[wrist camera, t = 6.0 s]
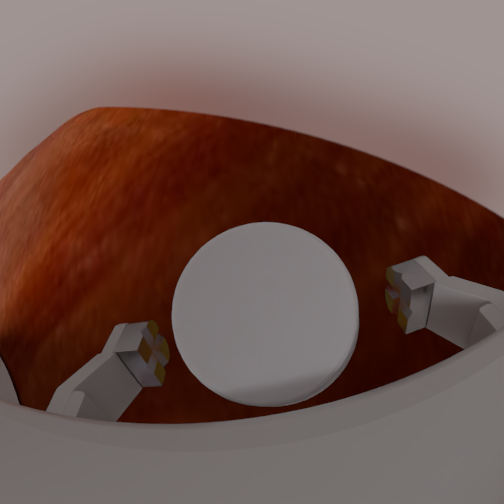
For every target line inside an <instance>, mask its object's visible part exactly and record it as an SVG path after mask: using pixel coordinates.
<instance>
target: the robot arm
mask: <svg viewBox="0 0 504 504" xmlns="http://www.w3.org/2000/svg"><path fill="white" fill-rule="evenodd" d="M386 279H387V280H388V281H389V283H388V285H387V287H386V288H385V298H386V303H387V306H388V308H389V310H390V312H391V313H392V314H394V315H396V316H398V321H397V322H398V324H399V325H400V327H401V328H402V330H403V331H404V333H405V334H408V333H411V332H413V331H416V330H419V329H422V328H424V327H426V328H427V329H429V330H431V331H433V332H434V333H436V334H438V335H440V336H442V337H443V338H445V339H447V340H449V341H450V342H452V343H454V344H456V345H458V346H459V347H461V348H463V349H465V350H463V351H461V352H459V353H457V354H455V355H453V356H451V357H449V358H447V359H445V360H443V361H441V362H439V363H437V364H435V365H433V366H431V367H429V368H426V369H424V370H422V371H420V372H417V373H415V374H412V375H410V376H408V377H405V378H403V379H400V380H398V381H395V382H392V383H390V384H387V385H384V386H382V387H379V388H376V389H373V390H370V391H367V392H364V393H361V394H358V395H354V396H351V397H348V398H344V399H341V400H337V401H334V402H330V403H326V404H322V405H318V406H314V407H309V408H305V409H300V410H296V411H291V412H285V413H280V414H274V415H268V416H262V417H255V418H248V419H240V420H231V421H220V422H207V423H187V424H144V423H125V422H116V421H117V420H118V418H119V417H120V416H121V415H122V413H123V412H124V411H125V410H126V408H127V407H128V406H129V405H130V403H131V402H132V401H133V400H134V398H135V397H136V396H137V395H138V393H139V392H140V391H141V390H142V387H153V386H163V382H164V378H165V374H166V371H165V369H164V368H163V367H164V366H165V365H166V364H167V363H168V361H169V357H170V355H169V347H168V344H167V341H166V340H165V338H164V337H163V336H161V335H160V334H158V331H159V327H158V326H157V324H156V322H155V321H153V320H145V321H138V322H130V323H123V324H118V325H116V326H115V327H114V329H113V331H112V333H111V335H110V337H109V339H108V341H107V343H106V345H105V347H104V349H103V351H102V353H101V354H97V355H96V356H95V357H94V358H92V359H91V360H90V361H89V362H88V363H86V364H85V365H84V366H83V367H82V368H80V369H79V370H78V371H77V372H76V373H74V374H73V375H72V376H71V377H70V378H68V379H67V380H66V381H65V382H64V383H63V384H61V385H60V386H59V387H58V388H57V389H56V391H55V393H54V395H53V397H52V399H51V402H50V404H49V406H48V408H47V410H46V411H42V410H38V409H34V408H30V407H26V406H22V405H19V401H18V398H17V395H16V392H15V389H14V386H13V384H12V381H11V378H10V376H9V374H8V371H7V369H6V367H5V365H4V363H3V361H2V359H1V357H0V504H504V291H501V290H498V289H494V288H491V287H488V286H485V285H481V284H478V283H475V282H471V281H468V280H465V279H461V278H458V277H454V276H451V277H449V276H448V275H446V274H445V273H444V272H443V271H442V270H441V269H440V268H439V267H438V266H437V265H435V264H434V263H433V262H432V261H431V260H430V259H429V258H427V257H426V256H420V257H417V258H414V259H411V260H409V261H406V262H403V263H399V264H396V265H393V266H390V267H387V270H386Z"/></svg>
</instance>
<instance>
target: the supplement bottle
mask: <svg viewBox="0 0 504 504" xmlns="http://www.w3.org/2000/svg"><path fill="white" fill-rule="evenodd" d="M172 328H173V333H174V337H175V341H176V345H177V348H178V350H179V352H180V354H181V356H182V358H183V360H184V362H185V363H186V365H187V367H188V368H189V369H190V371H191V372H192V373H193V374H194V375H195V376H196V378H197V379H198V380H199V381H200V382H201V383H202V384H204V385H205V386H206V387H207V388H209V389H210V390H212V391H213V392H215V393H216V394H218V395H220V396H222V397H224V398H226V399H228V400H231V401H234V402H237V403H240V404H245V405H250V406H260V407H268V406H270V407H276V406H286V405H291V404H295V403H299V402H302V401H305V400H307V399H309V398H311V397H313V396H315V395H317V394H319V393H320V392H322V391H323V390H325V389H326V388H327V387H328V386H329V385H331V384H332V383H333V382H334V381H335V380H336V379H337V378H338V376H339V375H340V374H341V373H342V371H343V370H344V369H345V367H346V365H347V364H348V362H349V360H350V358H351V356H352V354H353V351H354V349H355V346H356V342H357V338H358V331H359V306H358V298H357V294H356V290H355V286H354V283H353V280H352V278H351V276H350V273H349V272H348V270H347V268H346V266H345V265H344V263H343V262H342V260H341V259H340V258H339V256H338V255H337V254H336V253H335V252H334V250H333V249H331V248H330V247H329V246H328V245H327V244H326V243H324V242H323V241H322V240H321V239H319V238H318V237H316V236H315V235H313V234H311V233H309V232H307V231H305V230H303V229H301V228H298V227H295V226H291V225H288V224H282V223H275V222H259V223H250V224H246V225H242V226H238V227H235V228H232V229H230V230H227V231H225V232H223V233H221V234H219V235H217V236H216V237H214V238H213V239H211V240H210V241H209V242H207V243H206V244H205V245H204V246H202V247H201V248H200V249H199V250H198V251H197V253H196V254H195V255H194V256H193V257H192V258H191V260H190V261H189V263H188V264H187V266H186V267H185V269H184V270H183V272H182V274H181V276H180V278H179V281H178V283H177V286H176V289H175V293H174V297H173V303H172Z"/></svg>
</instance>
